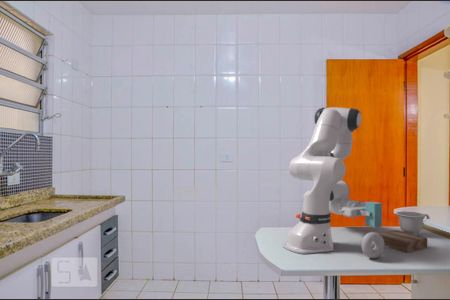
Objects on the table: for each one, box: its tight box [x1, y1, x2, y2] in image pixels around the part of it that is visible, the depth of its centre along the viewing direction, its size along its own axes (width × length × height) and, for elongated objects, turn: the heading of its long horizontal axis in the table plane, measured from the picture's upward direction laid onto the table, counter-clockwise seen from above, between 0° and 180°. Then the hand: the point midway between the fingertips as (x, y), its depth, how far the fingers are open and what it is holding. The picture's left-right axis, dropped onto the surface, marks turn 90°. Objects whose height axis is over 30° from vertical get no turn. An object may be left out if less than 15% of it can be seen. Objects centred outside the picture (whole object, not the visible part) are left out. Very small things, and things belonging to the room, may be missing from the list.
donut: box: [361, 231, 386, 259], centre depth 113 cm, size 10×3×10 cm, turn 109°
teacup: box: [396, 211, 431, 236], centre depth 145 cm, size 12×15×10 cm
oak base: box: [378, 230, 428, 253], centre depth 128 cm, size 14×14×4 cm
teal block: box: [364, 201, 383, 229], centre depth 139 cm, size 5×5×11 cm
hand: (375, 213), depth 139 cm, fingers closed on teal block, 5 cm apart
